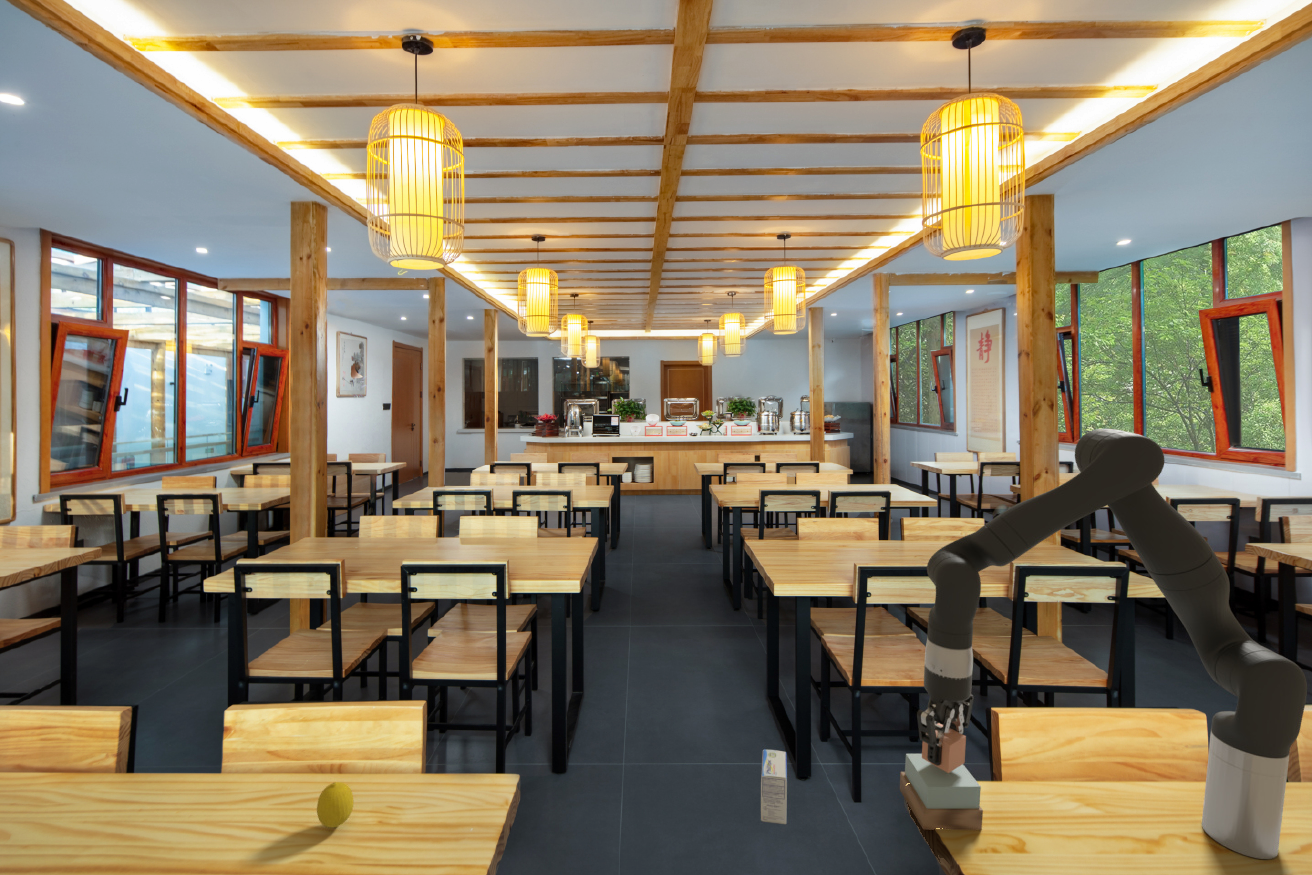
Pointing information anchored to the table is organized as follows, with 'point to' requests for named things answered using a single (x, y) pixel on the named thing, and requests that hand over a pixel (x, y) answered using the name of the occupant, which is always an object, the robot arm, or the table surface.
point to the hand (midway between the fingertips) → (943, 756)
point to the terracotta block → (949, 750)
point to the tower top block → (942, 785)
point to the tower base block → (940, 812)
